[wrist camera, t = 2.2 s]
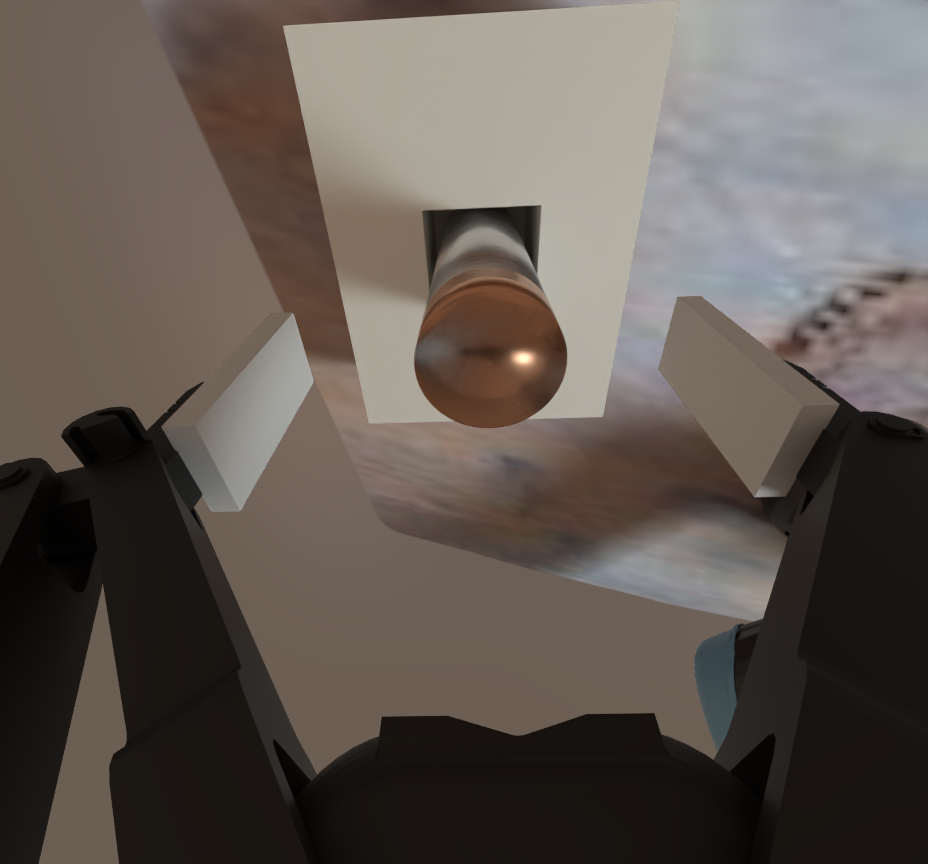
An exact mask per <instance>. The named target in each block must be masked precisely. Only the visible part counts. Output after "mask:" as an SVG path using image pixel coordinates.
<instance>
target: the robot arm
mask: <svg viewBox="0 0 928 864" xmlns="http://www.w3.org/2000/svg"><path fill="white" fill-rule="evenodd" d="M658 370H659V371H660V372H661V374H662V375H663V376H664V378H665V379H666V380H667V382H668V383H669V384H670V386H671V387H672V388H673V390H674V391H675V392H676V394H677V395H678V396H679V398H680V399H681V400H682V402H683V403H684V404H685V406H686V407H687V408H688V410H689V411H690V412H691V414H692V415H693V416H694V418H695V419H696V420H697V422H698V423H699V424H700V426H701V427H702V428H703V430H704V431H705V432H706V433H707V435H708V436H709V437H710V439H711V440H712V441H713V443H714V444H715V445H716V447H717V448H718V449H719V451H720V452H721V453H722V455H723V456H724V457H725V459H726V460H727V461H728V463H729V464H730V465H731V467H732V468H733V469H734V471H735V472H736V473H737V475H738V476H739V477H740V479H741V480H742V481H743V483H744V484H745V485H746V487H747V488H748V489H749V491H750V492H751V493H752V495H753V496H754V497H762V504H763V508H764V511H765V513H766V514H767V516H768V517H769V518H770V520H771V521H772V522H773V524H774V525H775V526H776V528H777V529H778V530H779V531H780V532H781V533H782V534H783V535H784V536H786V537H787V538H788V540H787V544H786V547H785V550H784V553H783V556H782V560H781V563H780V566H779V569H778V573H777V576H776V579H775V582H774V585H773V589H772V592H771V595H770V598H769V602H768V605H767V608H766V611H765V614H764V618H763V619H760V620H757V621H754V622H751V623H748V624H745V625H744V624H742V623H740V624H737V625H735V626H734V627H733V628H732V629H731V630H728V631H726V632H723V633H720V634H718V635H715V636H713V637H710V638H708V639H706V640H704V641H703V642H702V643H701V644H700V645H699V646H698V648H697V650H696V654H695V667H694V670H695V679H696V685H697V690H698V694H699V698H700V702H701V706H702V709H703V713H704V716H705V719H706V722H707V725H708V728H709V731H710V733H711V736H712V739H713V742H714V744H715V747H716V749H717V751H718V753H717V754H716V756H715V758H714V760H713V759H711V758H710V757H708V756H707V755H705V754H703V753H701V752H700V751H698V750H696V749H694V748H693V747H691V746H689V745H687V744H685V743H682V742H680V741H678V740H675V739H673V738H671V737H668V736H664V735H661V733H660V730H659V727H658V723H657V720H656V717H655V714H654V713H645V714H644V713H642V714H586V715H583V716H580V717H577V718H574V719H571V720H568V721H565V722H562V723H559V724H556V725H553V726H550V727H547V728H544V729H541V730H538V731H535V732H532V733H529V734H526V735H522V736H515V735H510V734H507V733H503V732H500V731H497V730H493V729H490V728H487V727H483V726H480V725H476V724H473V723H470V722H467V721H463V720H460V719H456V718H453V717H450V716H405V717H404V716H401V717H382V720H381V727H380V734H379V737H376V738H373V739H370V740H368V741H366V742H364V743H362V744H360V745H358V746H356V747H353V748H352V749H350V750H349V751H347V752H346V753H344V754H342V755H341V756H339V757H338V758H336V759H335V760H334V761H333V762H332V763H330V764H329V765H328V766H327V767H325V768H324V769H323V770H322V771H321V772H320V773H319V774H318V775H317V774H316V772H315V770H314V768H313V766H312V764H311V762H310V760H309V758H308V757H307V755H306V753H305V751H304V749H303V748H302V746H301V744H300V742H299V740H298V739H297V736H296V734H295V732H294V730H293V728H292V725H291V723H290V721H289V719H288V716H287V714H286V712H285V710H284V707H283V705H282V703H281V700H280V698H279V696H278V694H277V691H276V689H275V687H274V684H273V682H272V680H271V678H270V675H269V673H268V671H267V669H266V666H265V664H264V662H263V660H262V657H261V655H260V653H259V651H258V648H257V646H256V644H255V641H254V639H253V637H252V635H251V632H250V630H249V628H248V626H247V623H246V621H245V619H244V616H243V614H242V612H241V610H240V607H239V605H238V603H237V601H236V598H235V596H234V594H233V591H232V589H231V587H230V585H229V582H228V580H227V578H226V576H225V573H224V571H223V569H222V567H221V564H220V562H219V560H218V557H217V556H216V553H215V551H214V548H213V546H212V544H211V542H210V539H209V537H208V535H207V533H206V530H205V528H204V526H203V524H202V521H201V519H200V517H199V515H198V513H197V512H196V510H195V509H194V506H195V505H196V503H197V502H198V501H199V499H200V498H201V496H202V497H203V499H204V500H205V502H206V503H207V505H208V507H209V509H210V510H211V512H223V511H224V512H226V511H241V509H242V507H243V505H244V504H245V502H246V500H247V498H248V497H249V495H250V493H251V491H252V490H253V488H254V486H255V484H256V483H257V481H258V479H259V477H260V475H261V474H262V472H263V470H264V468H265V467H266V465H267V463H268V461H269V459H270V458H271V456H272V454H273V453H274V451H275V449H276V447H277V446H278V444H279V442H280V440H281V438H282V437H283V435H284V433H285V431H286V430H287V428H288V426H289V424H290V423H291V421H292V419H293V417H294V416H295V414H296V412H297V410H298V409H299V407H300V405H301V403H302V401H303V400H304V398H305V396H306V394H307V393H308V391H309V389H310V387H311V386H312V384H313V382H314V381H313V377H312V374H311V371H310V367H309V364H308V360H307V357H306V354H305V350H304V347H303V344H302V340H301V337H300V333H299V330H298V327H297V323H296V320H295V316H294V313H293V312H292V313H272V314H270V315H269V317H267V319H265V321H264V322H263V323H262V324H261V325H260V326H259V327H258V328H257V329H256V330H255V331H254V332H253V333H252V334H251V335H250V336H249V337H248V338H247V339H246V340H245V341H244V342H243V343H242V344H241V345H240V346H239V347H238V349H236V350H235V351H234V353H232V354H231V355H230V356H229V358H228V359H227V360H226V361H225V362H224V363H223V364H222V365H221V366H220V367H219V368H218V369H217V370H216V371H215V372H214V373H213V374H212V375H211V376H210V377H209V378H208V379H207V380H206V381H205V382H202V383H200V384H198V385H196V386H195V387H193V388H191V389H190V390H188V391H186V392H185V393H184V394H183V395H182V396H181V397H180V398H179V399H178V400H177V401H176V404H173V405H172V406H171V407H170V408H169V409H168V410H167V411H168V412H167V413H164V414H163V415H162V416H161V417H160V418H159V419H158V420H157V421H156V422H155V423H154V424H153V425H152V426H151V427H150V428H149V429H148V430H147V431H146V430H145V428H144V427H143V425H142V423H141V422H140V420H139V419H138V417H137V415H136V414H135V412H134V411H133V410H132V409H131V408H127V407H112V408H107V409H103V410H98V411H95V412H93V413H90V414H88V415H86V416H83V417H81V418H79V419H77V420H76V421H74V422H72V423H71V424H70V425H69V426H68V427H66V428H65V429H64V430H63V433H62V438H63V439H64V441H65V442H66V443H67V445H68V446H69V447H70V448H71V450H72V451H73V452H74V454H75V455H76V456H77V457H78V459H79V460H80V461H81V462H82V464H83V465H84V467H82V468H77V469H73V470H68V471H64V472H59V473H56V472H55V471H54V470H53V469H52V468H51V466H50V465H49V464H48V463H47V462H46V461H45V460H43V459H41V458H28V459H23V460H18V461H15V462H12V463H6V464H3V465H1V466H0V864H38V863H39V859H40V855H41V850H42V846H43V842H44V837H45V833H46V828H47V824H48V820H49V815H50V811H51V807H52V802H53V798H54V794H55V789H56V785H57V780H58V776H59V771H60V767H61V763H62V759H63V754H64V750H65V745H66V741H67V737H68V732H69V728H70V723H71V719H72V715H73V711H74V706H75V702H76V698H77V693H78V689H79V684H80V680H81V675H82V671H83V667H84V663H85V658H86V653H87V650H88V645H89V641H90V636H91V632H92V628H93V623H94V619H95V615H96V610H97V606H98V601H99V597H100V593H101V588H102V584H103V587H104V593H105V599H106V605H107V611H108V618H109V624H110V630H111V637H112V643H113V649H114V656H115V662H116V668H117V675H118V681H119V687H120V694H121V700H122V706H123V712H124V719H125V725H126V731H127V742H126V745H125V747H123V748H122V749H120V750H119V751H117V752H116V753H115V754H113V757H112V760H111V763H110V766H109V772H110V791H111V799H112V808H113V816H114V825H115V832H116V841H117V850H118V857H119V864H928V429H927V428H925V427H924V426H922V425H920V424H918V423H916V422H913V421H910V420H906V419H903V418H900V417H897V416H894V415H891V414H885V413H880V412H866V411H864V412H860V411H859V410H857V409H856V408H855V407H853V406H852V405H851V404H849V403H848V402H847V401H845V400H844V399H843V398H841V397H840V396H839V395H837V394H836V393H835V392H834V391H832V390H831V389H827V386H826V385H824V384H823V383H822V382H820V381H819V380H816V378H815V377H814V376H812V375H811V374H810V373H808V372H807V371H806V370H804V369H803V368H801V367H799V366H797V365H794V364H792V363H790V362H788V361H785V360H782V359H781V358H780V357H778V356H777V355H776V354H774V353H773V352H772V351H771V350H769V349H768V348H767V347H765V346H764V345H763V344H762V343H760V342H759V341H758V340H756V339H755V338H754V337H753V336H751V335H750V334H749V333H747V332H746V331H745V330H744V329H742V328H741V327H740V326H738V325H737V324H736V323H735V322H733V321H732V320H731V319H729V318H728V317H727V316H726V315H724V314H723V313H722V312H721V311H719V310H718V309H717V308H715V307H714V306H713V305H712V304H710V303H709V302H708V301H706V300H705V299H704V298H703V297H701V296H687V297H677V301H676V304H675V308H674V312H673V316H672V319H671V323H670V327H669V331H668V335H667V338H666V342H665V346H664V350H663V353H662V357H661V361H660V365H659V369H658Z"/></svg>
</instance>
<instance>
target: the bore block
mask: <svg viewBox="0 0 928 864" xmlns="http://www.w3.org/2000/svg"><path fill="white" fill-rule="evenodd" d="M679 4H680V1H673V2H657V3H641V4H625V5H609V6H593V7H576V8H560V9H544V10H528V11H512V12H496V13H479V14H463V15H447V16H431V17H415V18H399V19H382V20H366V21H350V22H334V23H318V24H302V25H286V26H283V28H284V33H285V37H286V42H287V47H288V51H289V56H290V61H291V65H292V70H293V74H294V79H295V84H296V88H297V93H298V98H299V102H300V107H301V111H302V116H303V121H304V125H305V130H306V134H307V139H308V144H309V148H310V153H311V158H312V162H313V167H314V171H315V176H316V181H317V185H318V190H319V195H320V199H321V204H322V208H323V213H324V218H325V222H326V227H327V231H328V236H329V241H330V245H331V250H332V255H333V259H334V264H335V268H336V273H337V278H338V282H339V287H340V292H341V296H342V301H343V305H344V310H345V315H346V319H347V324H348V329H349V333H350V338H351V342H352V347H353V352H354V356H355V361H356V365H357V370H358V375H359V379H360V384H361V389H362V393H363V398H364V402H365V407H366V412H367V416H368V421H369V424H372V423H407V422H443V421H454V420H452V419H450V418H448V417H446V416H445V415H443V414H442V413H440V412H439V411H438V410H437V409H436V408H434V407H433V406H432V404H431V403H430V402H429V401H428V400H427V399H426V397H425V396H424V394H423V393H422V391H421V389H420V387H419V384H418V381H417V379H416V374H415V369H414V354H415V348H416V344H417V340H418V335H419V331H420V327H421V323H422V319H423V315H424V312H425V308H426V304H427V300H428V296H429V291H430V287H431V283H432V279H433V275H434V270H435V266H436V262H437V258H438V254H439V249H440V245H441V241H442V237H443V232H444V228H445V225H446V222H447V220H448V218H449V216H450V215H451V214H452V212H453V211H454V210H455V209H468V208H490V207H504V208H505V209H506V210H507V211H508V212H509V213H510V215H511V217H512V218H513V220H514V223H515V225H516V227H517V230H518V232H519V234H520V237H521V239H522V241H523V244H524V246H525V248H526V251H527V253H528V255H529V258H530V260H531V262H532V265H533V267H534V269H535V272H536V274H537V276H538V279H539V281H540V283H541V286H542V288H543V290H544V293H545V295H546V297H547V299H548V301H549V303H550V305H551V308H552V310H553V312H554V315H555V317H556V319H557V321H558V324H559V326H560V328H561V331H562V333H563V335H564V338H565V342H566V346H567V367H566V372H565V376H564V378H563V381H562V383H561V385H560V387H559V390H558V391H557V392H556V394H555V395H554V397H553V398H552V399H551V400H550V402H549V403H548V404H547V405H546V406H545V407H544V408H542V409H541V410H540V411H539V412H537V413H536V414H534V415H533V416H531V417H529V418H528V419H549V418H585V417H603V414H604V408H605V403H606V398H607V392H608V387H609V382H610V376H611V371H612V365H613V360H614V355H615V349H616V344H617V338H618V333H619V328H620V322H621V317H622V311H623V306H624V301H625V295H626V290H627V285H628V279H629V274H630V268H631V263H632V258H633V252H634V247H635V241H636V236H637V231H638V225H639V220H640V214H641V209H642V204H643V198H644V193H645V188H646V182H647V177H648V171H649V166H650V161H651V155H652V150H653V144H654V139H655V134H656V128H657V123H658V118H659V112H660V107H661V101H662V96H663V91H664V85H665V80H666V74H667V69H668V64H669V58H670V53H671V47H672V42H673V37H674V31H675V26H676V21H677V15H678V10H679Z"/></svg>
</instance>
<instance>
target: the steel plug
mask: <svg viewBox="0 0 928 864" xmlns="http://www.w3.org/2000/svg"><path fill="white" fill-rule="evenodd" d="M566 367H567V346H566V342H565V338H564V335H563V333H562V331H561V328H560V326H559V324H558V321H557V319H556V317H555V315H554V312H553V310H552V308H551V305H550V303H549V301H548V299H547V297H546V295H545V293H544V290H543V288H542V286H541V283H540V281H539V279H538V276H537V274H536V272H535V269H534V267H533V265H532V262H531V260H530V258H529V255H528V253H527V251H526V248H525V246H524V244H523V241H522V239H521V237H520V234H519V232H518V230H517V227H516V225H515V223H514V220H513V218H512V217H511V215H510V213H509V212H508V211H507V210H506V209H505V208H504V207H490V208H468V209H455V210H454V211H453V212H452V214H451V215H450V216H449V218H448V220H447V222H446V225H445V228H444V232H443V237H442V241H441V245H440V249H439V254H438V258H437V262H436V266H435V270H434V275H433V279H432V283H431V287H430V291H429V296H428V300H427V304H426V308H425V312H424V315H423V319H422V323H421V327H420V331H419V335H418V340H417V344H416V348H415V354H414V369H415V374H416V379H417V381H418V384H419V387H420V389H421V391H422V393H423V394H424V396H425V397H426V399H427V400H428V401H429V402H430V403H431V404H432V406H433V407H434V408H436V409H437V410H438V411H439V412H440V413H442V414H443V415H445V416H446V417H448V418H450V419H452V420H454V421H456V422H458V423H461V424H464V425H468V426H472V427H479V428H498V427H504V426H509V425H513V424H516V423H519V422H521V421H523V420H526V419H528V418H529V417H531V416H533V415H534V414H536V413H537V412H539V411H540V410H541V409H542V408H544V407H545V406H546V405H547V404H548V403H549V402H550V400H551V399H552V398H553V397H554V395H555V394H556V392H557V391H558V390H559V387H560V385H561V383H562V381H563V378H564V376H565V372H566Z"/></svg>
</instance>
